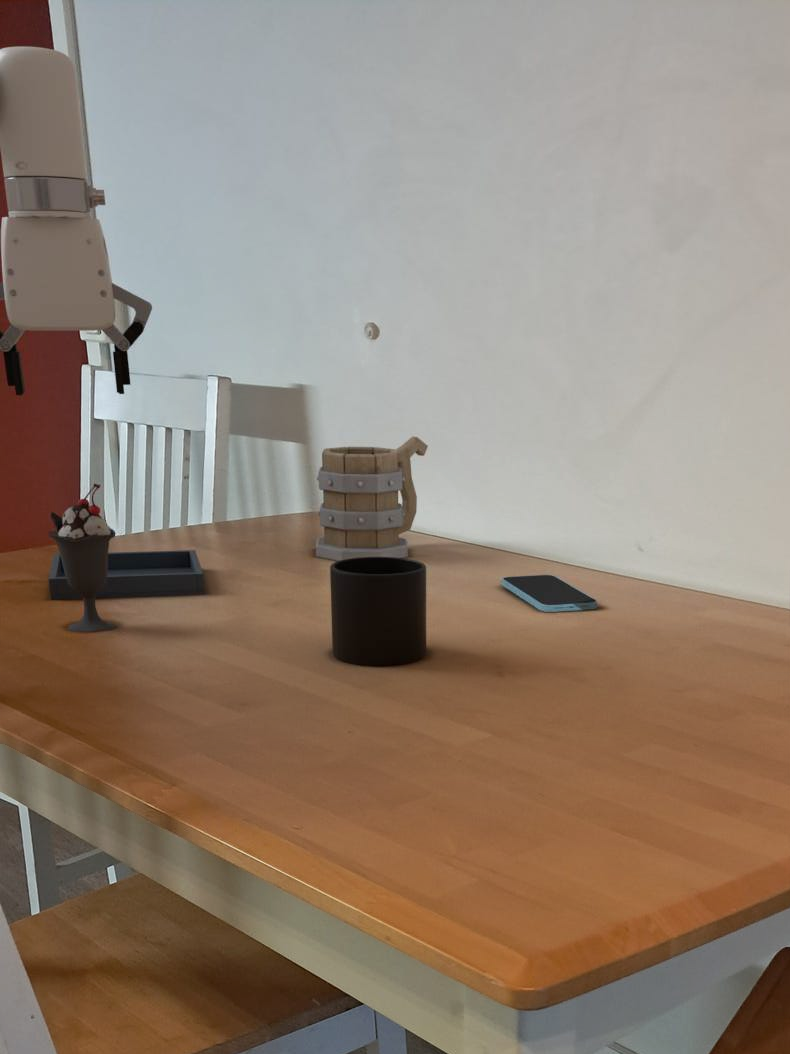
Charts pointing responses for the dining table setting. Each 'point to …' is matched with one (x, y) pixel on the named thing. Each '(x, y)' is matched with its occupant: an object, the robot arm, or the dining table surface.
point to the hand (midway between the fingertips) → (71, 393)
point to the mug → (378, 610)
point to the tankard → (367, 501)
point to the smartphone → (549, 593)
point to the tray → (138, 575)
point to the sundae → (84, 557)
